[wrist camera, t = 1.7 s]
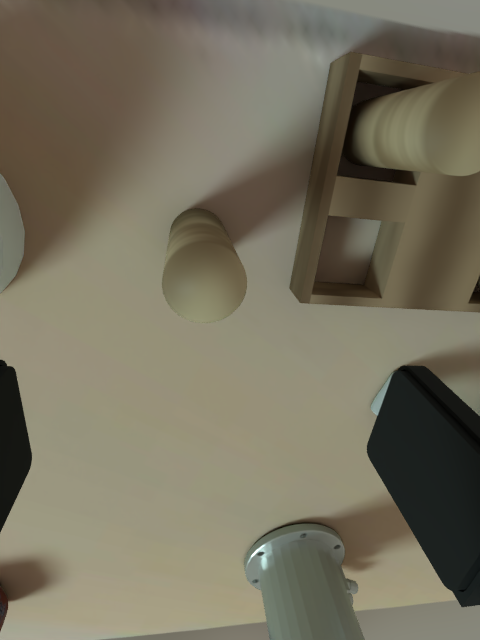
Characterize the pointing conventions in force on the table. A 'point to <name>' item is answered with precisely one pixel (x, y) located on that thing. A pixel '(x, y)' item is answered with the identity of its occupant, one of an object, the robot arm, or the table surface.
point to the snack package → (3, 606)
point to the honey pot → (9, 235)
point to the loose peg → (202, 269)
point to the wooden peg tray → (398, 186)
